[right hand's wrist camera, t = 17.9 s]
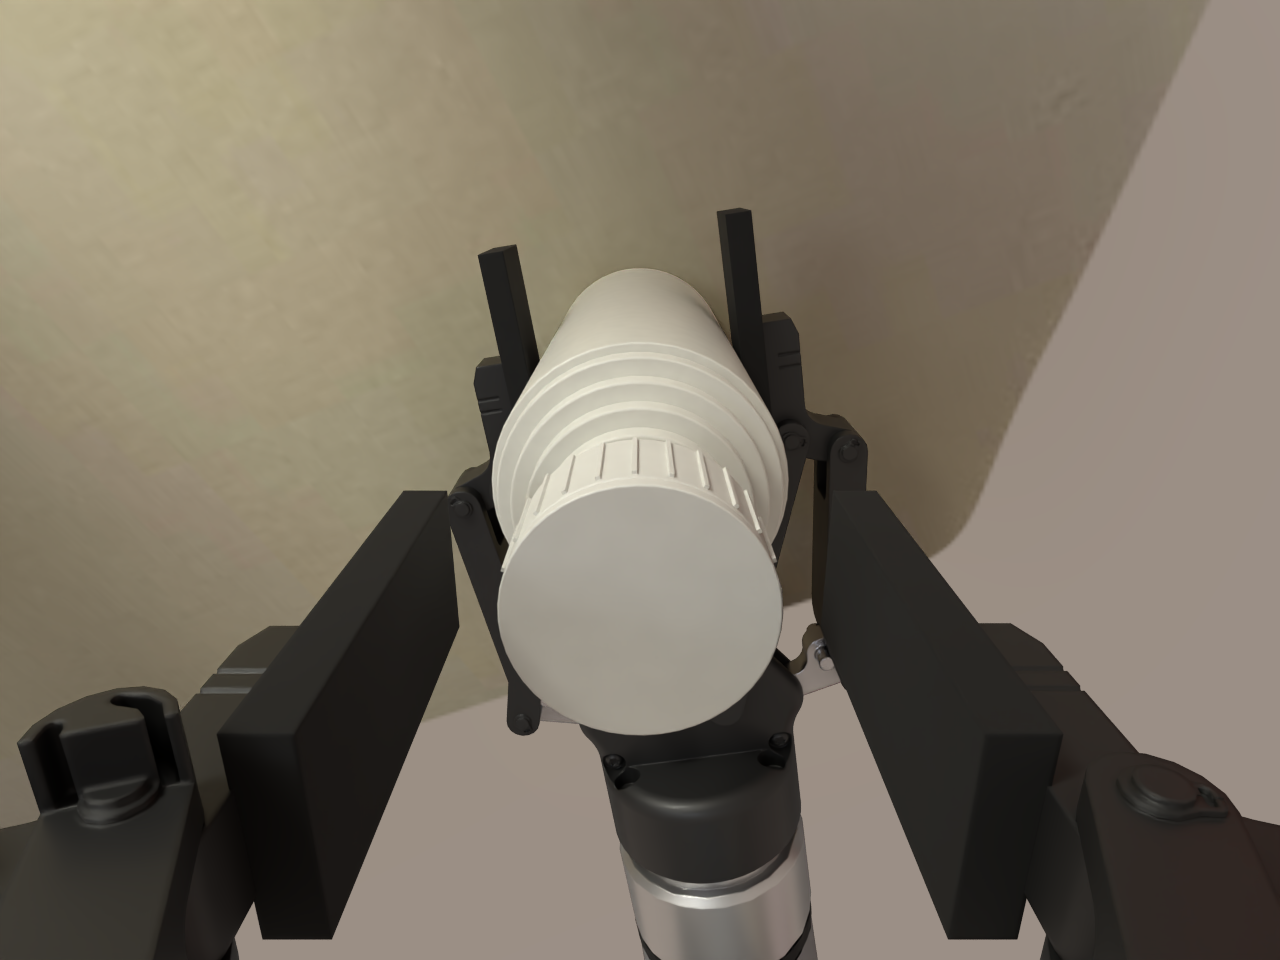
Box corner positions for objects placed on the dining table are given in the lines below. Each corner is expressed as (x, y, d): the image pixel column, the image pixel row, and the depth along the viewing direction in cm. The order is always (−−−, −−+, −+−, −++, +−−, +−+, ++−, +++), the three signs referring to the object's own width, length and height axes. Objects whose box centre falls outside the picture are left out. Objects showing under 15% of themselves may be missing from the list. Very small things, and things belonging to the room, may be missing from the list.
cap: (478, 475, 14) (449, 527, 12) (730, 402, 14) (747, 443, 11) (560, 685, 16) (548, 766, 13) (790, 627, 15) (815, 701, 13)
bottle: (745, 300, 31) (912, 483, 12) (688, 449, 34) (753, 805, 14) (587, 244, 31) (498, 345, 11) (538, 400, 33) (396, 706, 14)
